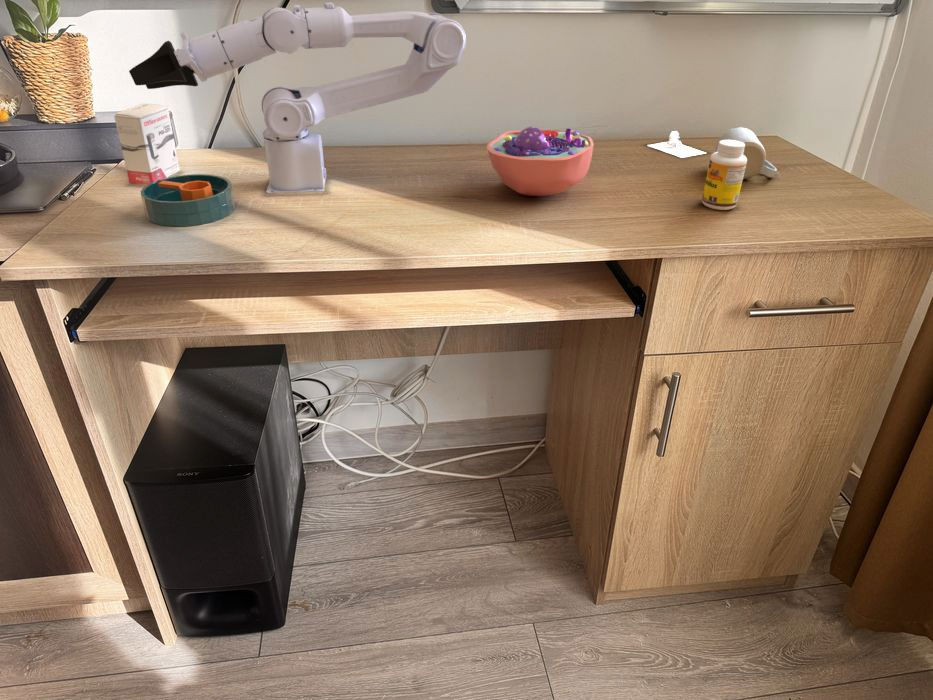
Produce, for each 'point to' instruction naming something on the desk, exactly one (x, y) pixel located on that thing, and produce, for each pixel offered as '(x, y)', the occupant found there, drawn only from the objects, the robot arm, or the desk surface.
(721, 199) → the supplement bottle
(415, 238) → the desk surface
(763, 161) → the ceramic mug
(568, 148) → the cell model
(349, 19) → the robot arm
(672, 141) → the adhesive hook
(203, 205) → the bowl
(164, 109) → the ink box
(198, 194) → the scoop
